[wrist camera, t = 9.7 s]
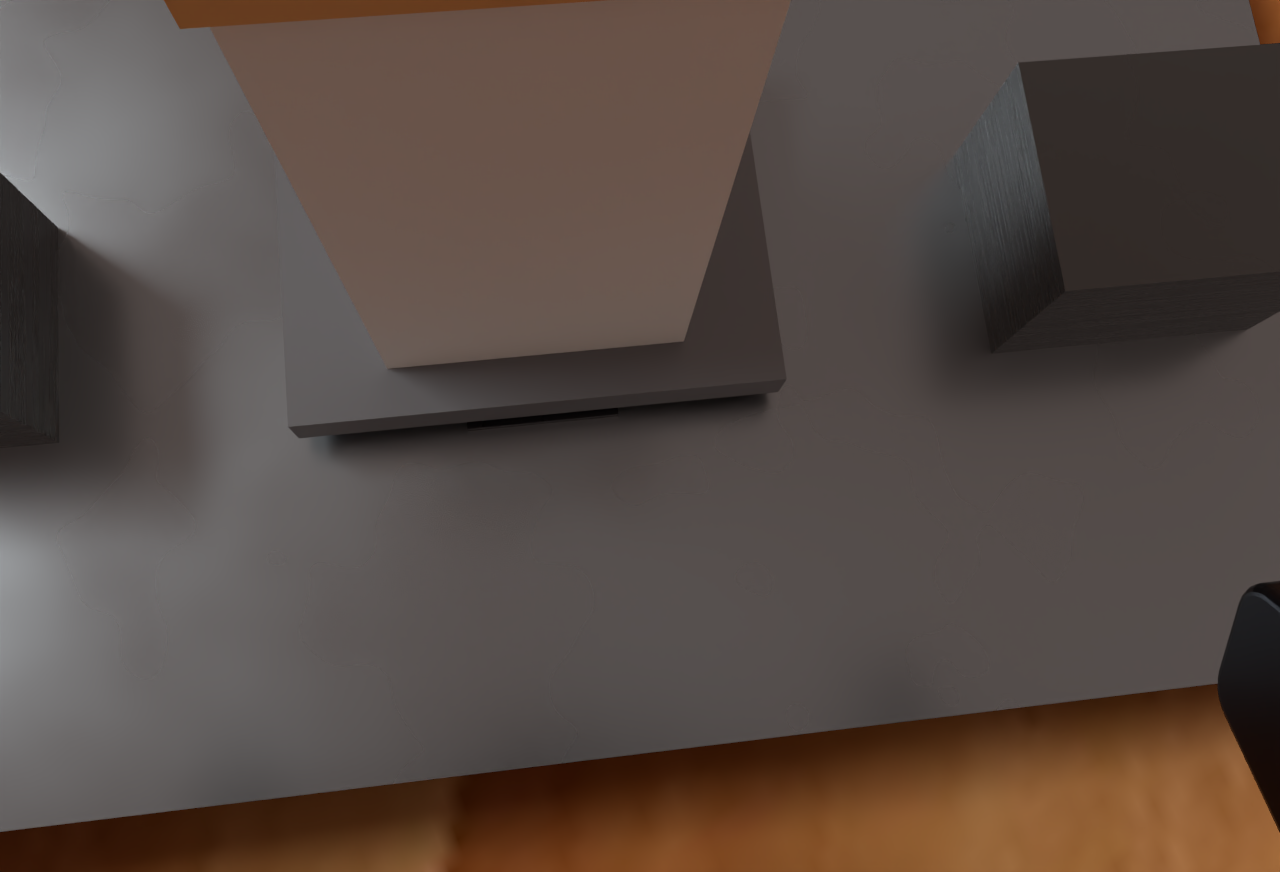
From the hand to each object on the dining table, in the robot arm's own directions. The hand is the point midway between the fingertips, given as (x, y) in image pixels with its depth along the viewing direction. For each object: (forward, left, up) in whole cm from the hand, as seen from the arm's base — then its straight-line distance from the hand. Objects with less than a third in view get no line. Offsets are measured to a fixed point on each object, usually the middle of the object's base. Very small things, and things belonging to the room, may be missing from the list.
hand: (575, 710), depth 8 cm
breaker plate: (+5, -5, -6) cm, 10 cm away
